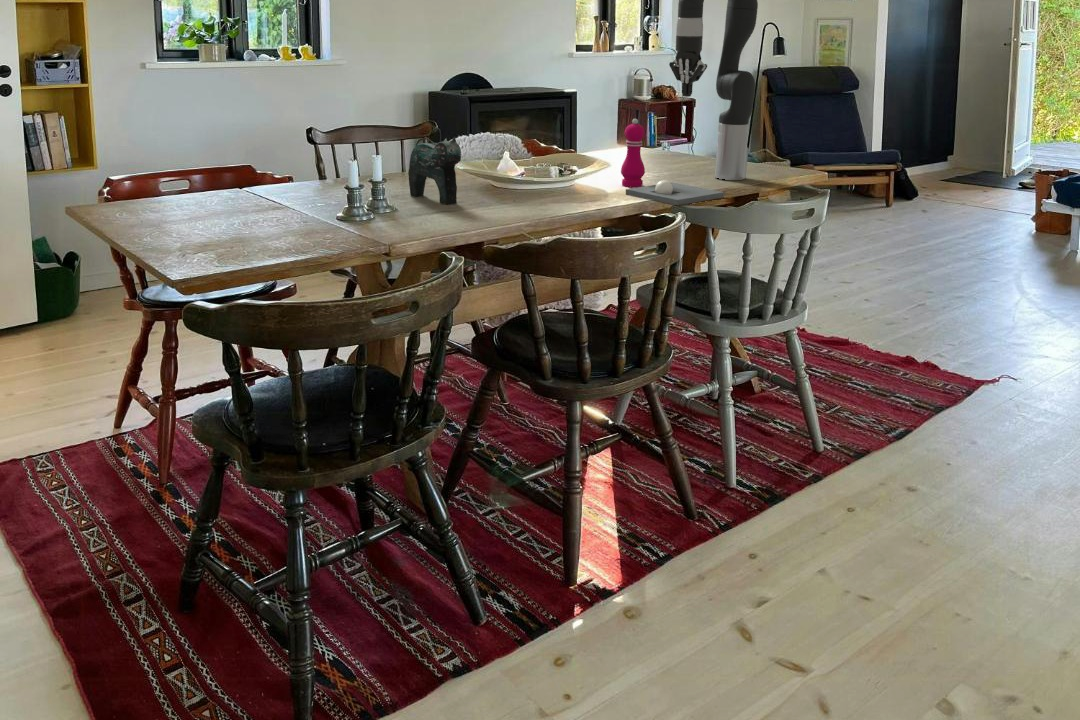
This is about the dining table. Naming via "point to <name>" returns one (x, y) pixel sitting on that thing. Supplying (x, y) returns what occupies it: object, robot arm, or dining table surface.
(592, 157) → the dining table surface
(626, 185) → the pepper mill
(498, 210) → the dining table surface
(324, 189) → the dining table surface
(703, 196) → the plate
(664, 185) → the ball
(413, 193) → the ceramic cat
